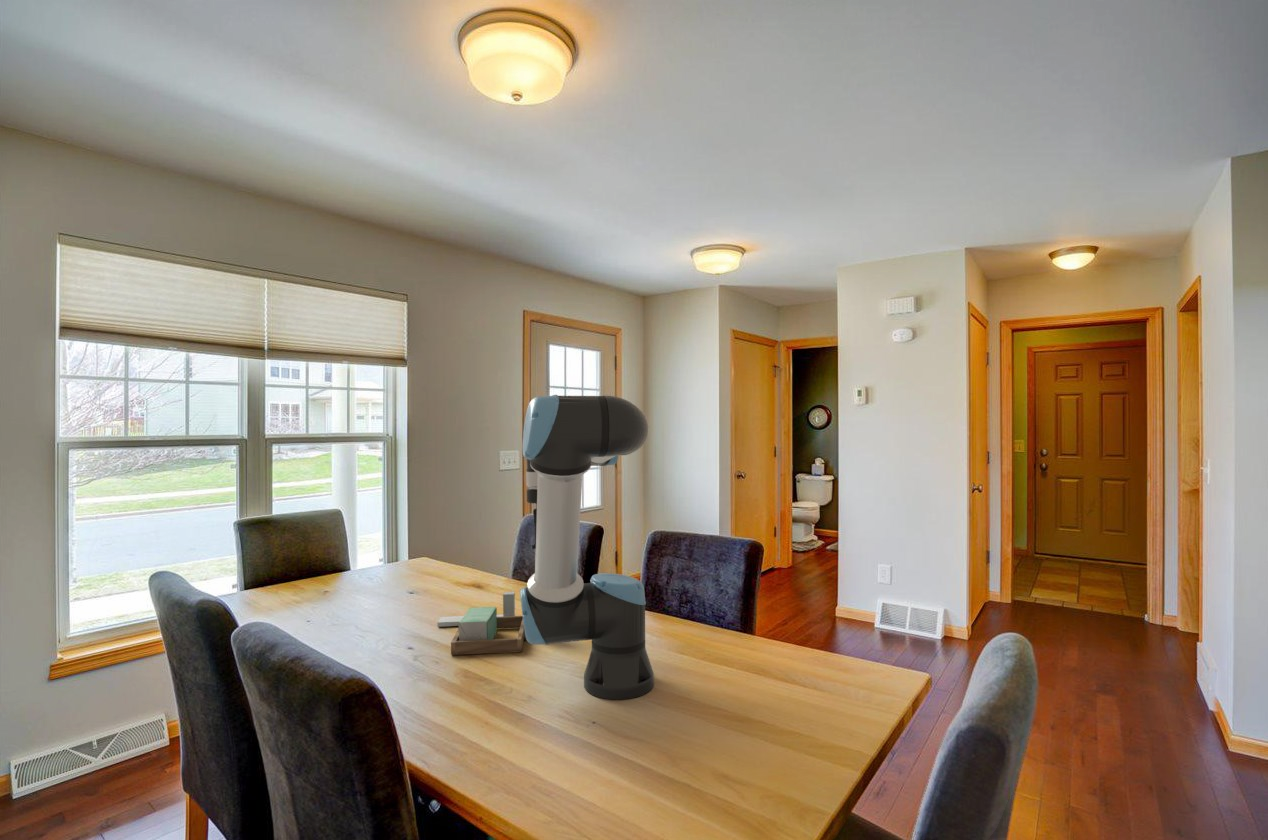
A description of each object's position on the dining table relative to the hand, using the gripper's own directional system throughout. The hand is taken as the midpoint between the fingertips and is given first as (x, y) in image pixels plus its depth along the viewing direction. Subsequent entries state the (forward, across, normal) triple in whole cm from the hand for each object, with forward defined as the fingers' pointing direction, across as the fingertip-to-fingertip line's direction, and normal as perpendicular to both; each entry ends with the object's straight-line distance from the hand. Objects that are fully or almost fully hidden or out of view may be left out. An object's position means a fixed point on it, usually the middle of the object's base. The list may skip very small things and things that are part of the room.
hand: (541, 568), depth 160 cm
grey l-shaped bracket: (+18, +15, +19) cm, 31 cm away
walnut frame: (+18, 0, +10) cm, 21 cm away
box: (+19, 0, +16) cm, 25 cm away
